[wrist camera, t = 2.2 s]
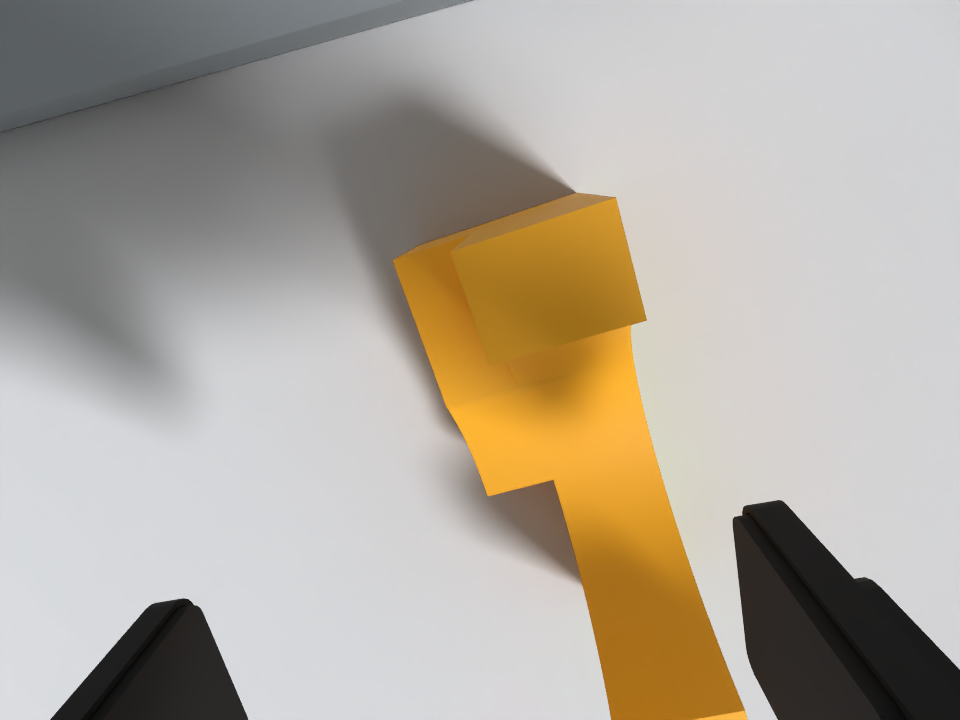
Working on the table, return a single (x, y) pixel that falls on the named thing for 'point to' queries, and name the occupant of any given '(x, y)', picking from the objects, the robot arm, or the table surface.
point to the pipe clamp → (573, 431)
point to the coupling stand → (158, 44)
